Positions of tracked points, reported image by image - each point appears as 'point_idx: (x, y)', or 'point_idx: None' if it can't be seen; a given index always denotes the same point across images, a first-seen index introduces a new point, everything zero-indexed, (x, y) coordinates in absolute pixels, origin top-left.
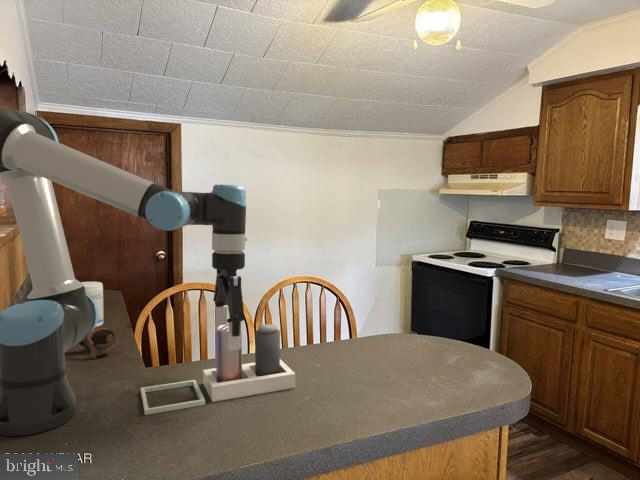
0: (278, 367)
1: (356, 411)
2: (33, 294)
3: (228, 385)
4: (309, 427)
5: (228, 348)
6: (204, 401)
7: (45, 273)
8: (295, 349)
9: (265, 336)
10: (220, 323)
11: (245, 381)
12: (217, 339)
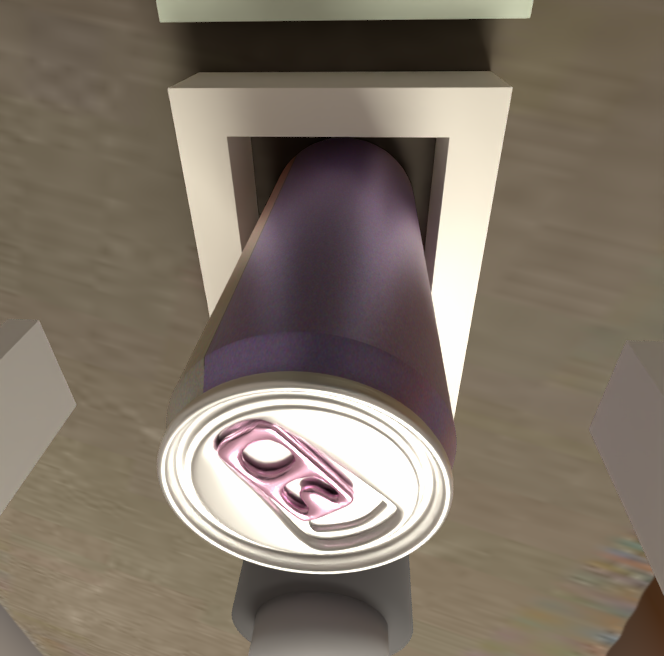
0: None
1: (38, 499)
2: None
3: (191, 195)
4: None
5: (13, 328)
6: (161, 15)
7: None
8: (637, 553)
9: (241, 589)
10: (658, 466)
11: (208, 291)
12: (271, 300)
